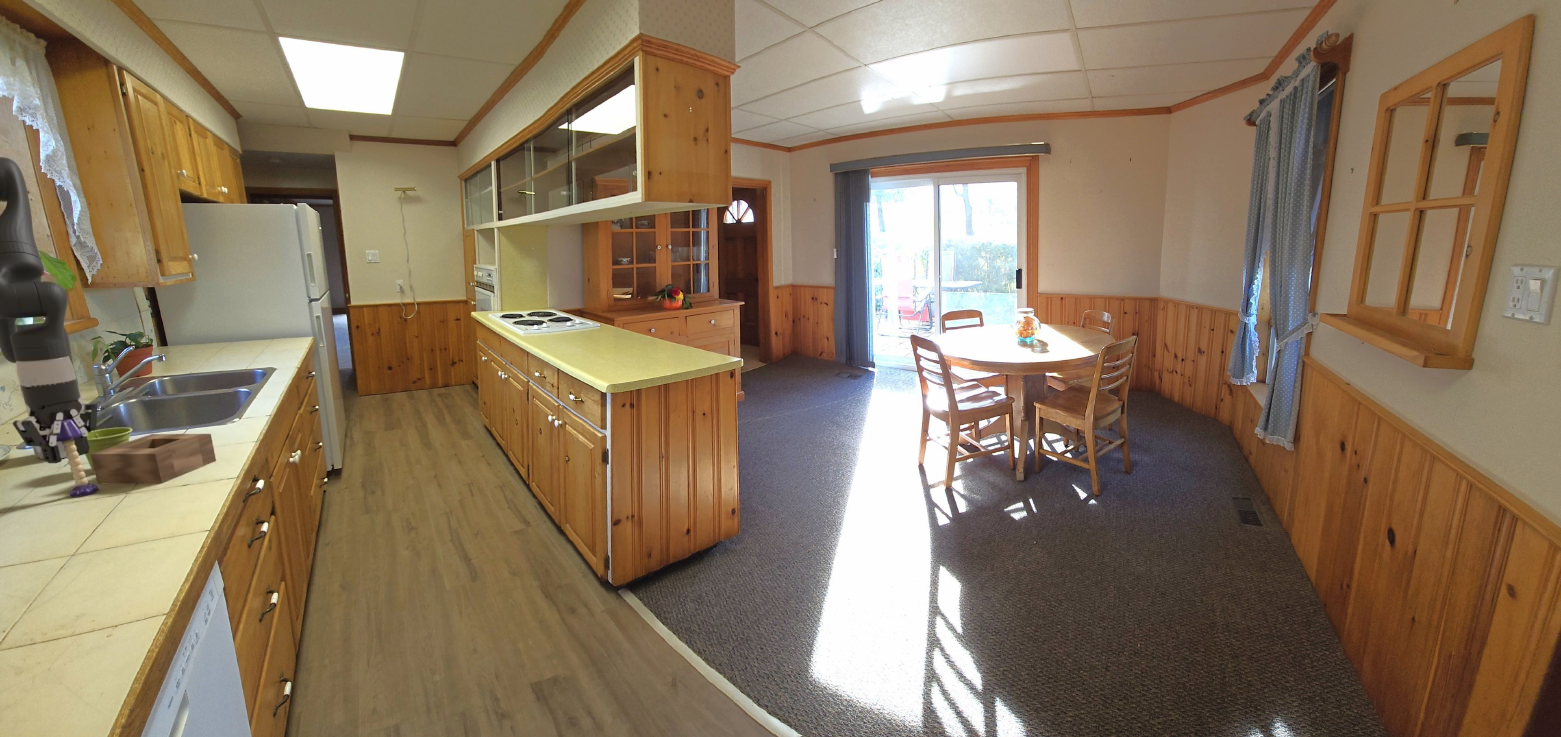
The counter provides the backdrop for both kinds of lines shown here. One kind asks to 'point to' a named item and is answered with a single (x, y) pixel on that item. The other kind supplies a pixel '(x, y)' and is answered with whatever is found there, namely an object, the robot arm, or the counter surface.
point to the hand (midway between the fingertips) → (68, 457)
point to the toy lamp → (74, 458)
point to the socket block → (153, 458)
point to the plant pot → (106, 440)
